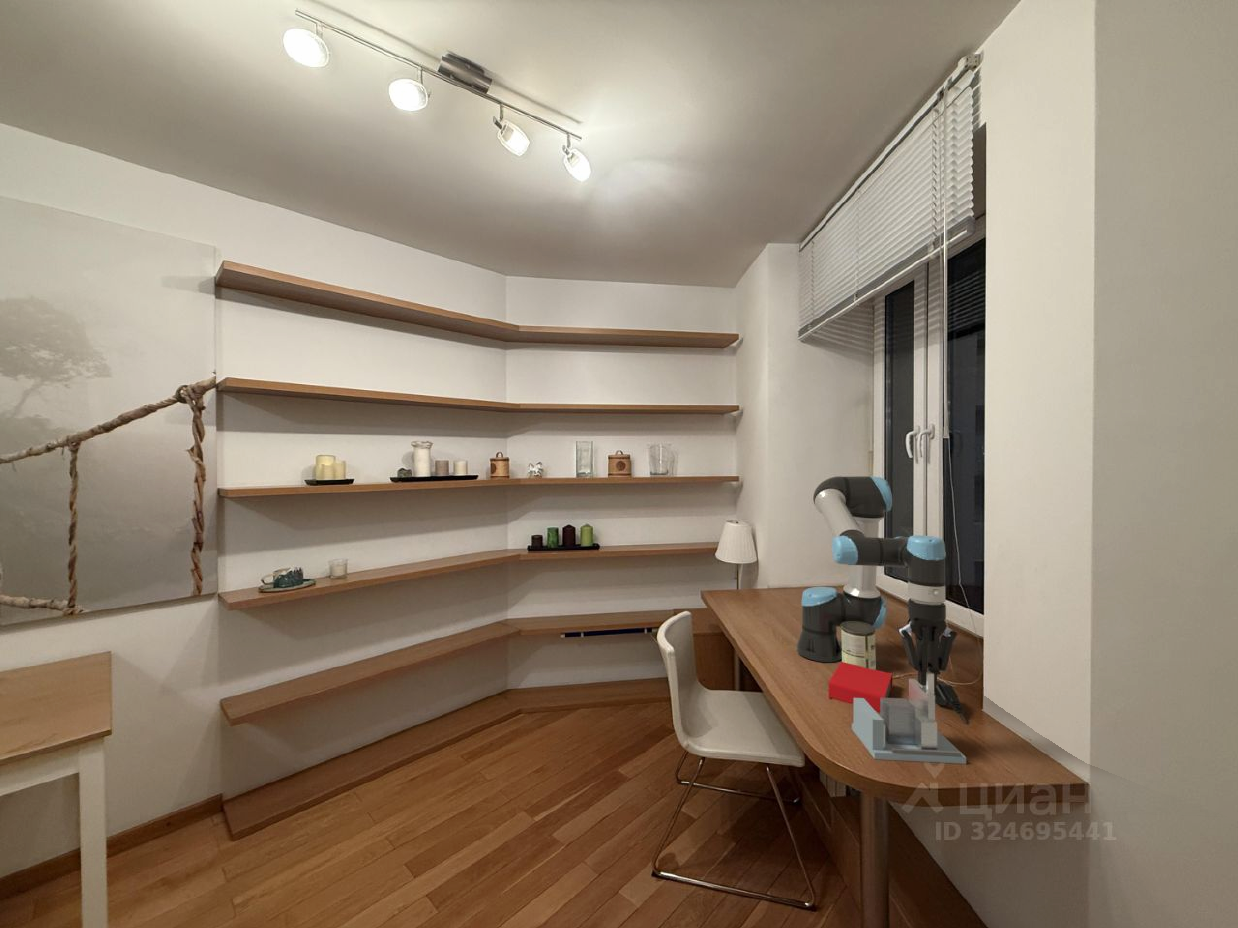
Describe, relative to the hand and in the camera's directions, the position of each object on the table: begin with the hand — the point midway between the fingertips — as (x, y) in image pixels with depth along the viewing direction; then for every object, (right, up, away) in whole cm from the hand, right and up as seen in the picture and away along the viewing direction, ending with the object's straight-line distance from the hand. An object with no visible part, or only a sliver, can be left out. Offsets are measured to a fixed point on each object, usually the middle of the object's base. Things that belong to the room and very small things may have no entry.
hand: (927, 698), depth 109 cm
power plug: (+17, -14, +11) cm, 24 cm away
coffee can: (+6, -12, +42) cm, 45 cm away
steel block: (-7, -10, 0) cm, 12 cm away
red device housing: (-2, -12, +26) cm, 29 cm away
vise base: (-6, -12, 0) cm, 13 cm away
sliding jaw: (-2, -10, 0) cm, 10 cm away
